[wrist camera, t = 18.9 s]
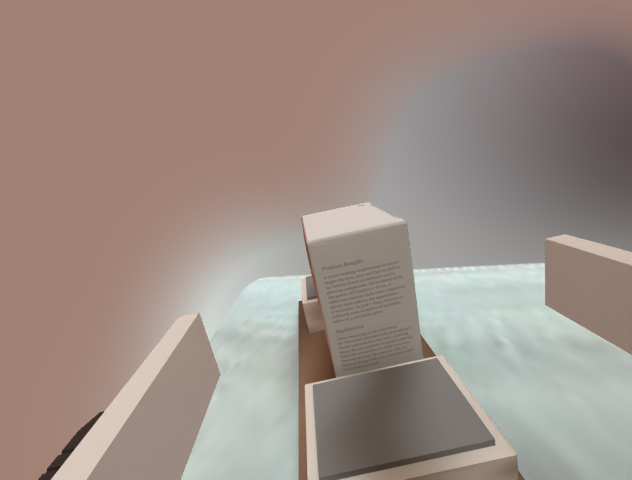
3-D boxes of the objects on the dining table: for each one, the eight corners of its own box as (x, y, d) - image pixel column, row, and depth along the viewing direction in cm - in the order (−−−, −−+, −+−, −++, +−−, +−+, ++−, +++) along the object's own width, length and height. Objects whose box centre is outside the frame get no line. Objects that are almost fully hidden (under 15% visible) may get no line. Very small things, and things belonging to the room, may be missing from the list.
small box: (325, 332, 26) (299, 215, 23) (388, 318, 26) (369, 200, 23) (339, 404, 18) (302, 240, 15) (428, 384, 18) (407, 218, 15)
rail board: (384, 290, 34) (379, 256, 33) (565, 555, 11) (566, 469, 10) (300, 309, 34) (292, 275, 33) (305, 612, 11) (278, 533, 10)
